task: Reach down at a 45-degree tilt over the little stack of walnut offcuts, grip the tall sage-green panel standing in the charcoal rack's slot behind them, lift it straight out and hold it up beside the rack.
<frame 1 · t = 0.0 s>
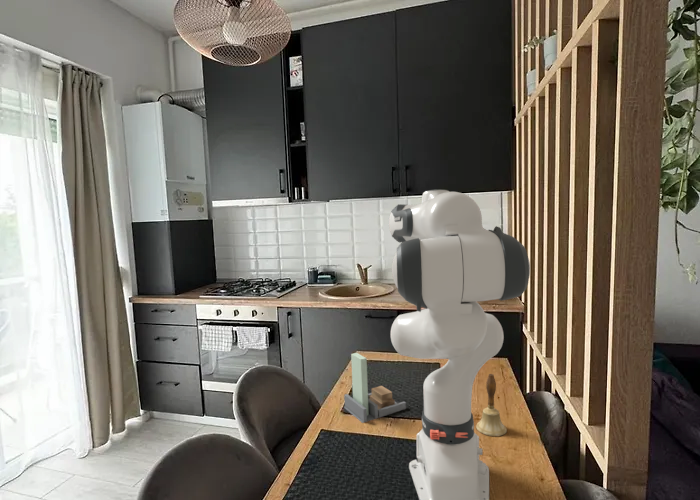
hand: (437, 293, 117), 39 cm above the table, tool pointing down, fingers open, 8 cm apart
bottom offcut: (382, 405, 130), point 1 cm above the table, touching charcoal rack, top offcut
top offcut: (381, 397, 130), point 3 cm above the table, touching bottom offcut
sage panel: (360, 412, 126), point 1 cm above the table, touching charcoal rack
hand bell: (491, 429, 115), on the table
charcoal rack: (371, 411, 128), on the table
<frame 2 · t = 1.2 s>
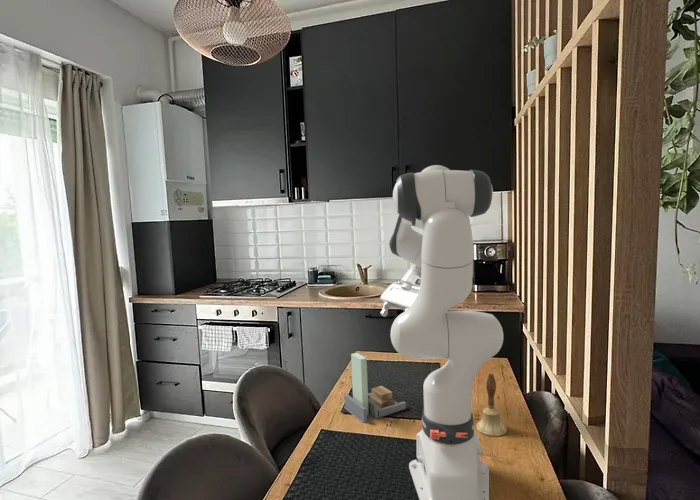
hand: (390, 318, 130), 29 cm above the table, tool tilted 45°, fingers open, 8 cm apart
nothing on the table moved.
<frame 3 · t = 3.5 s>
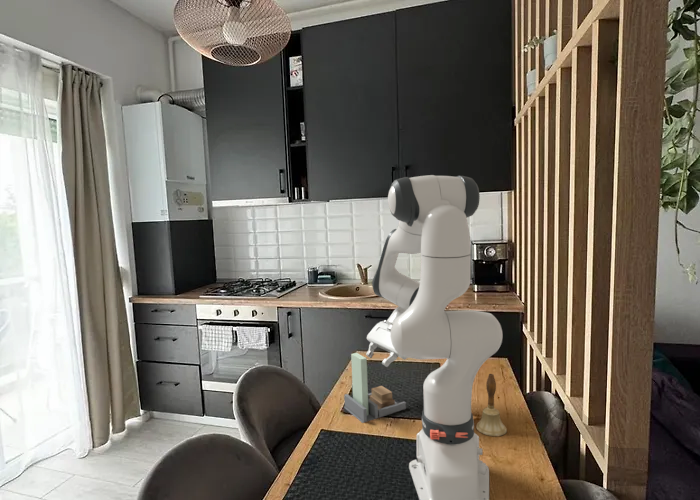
hand: (376, 360, 128), 16 cm above the table, tool tilted 45°, fingers open, 8 cm apart
nothing on the table moved.
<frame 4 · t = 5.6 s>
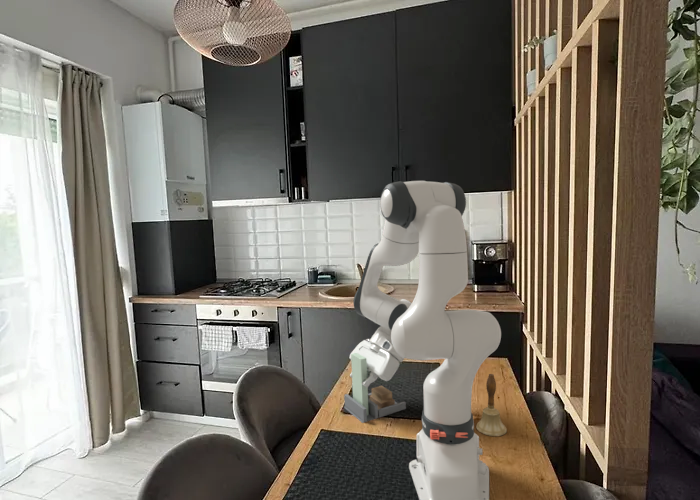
hand: (357, 381, 125), 11 cm above the table, tool tilted 45°, fingers closed on sage panel, 6 cm apart
sage panel: (360, 412, 126), point 1 cm above the table, touching charcoal rack, gripper
everything else where it was.
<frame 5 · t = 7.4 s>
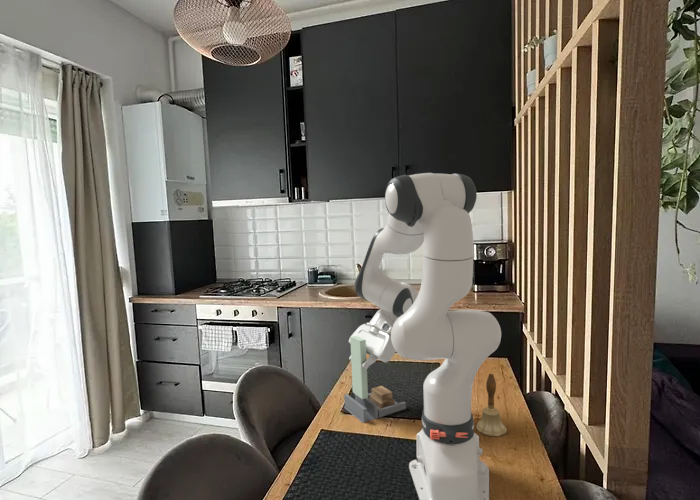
hand: (357, 364, 124), 17 cm above the table, tool tilted 45°, fingers closed on sage panel, 6 cm apart
sage panel: (360, 394, 125), point 7 cm above the table, touching gripper
everything else where it was.
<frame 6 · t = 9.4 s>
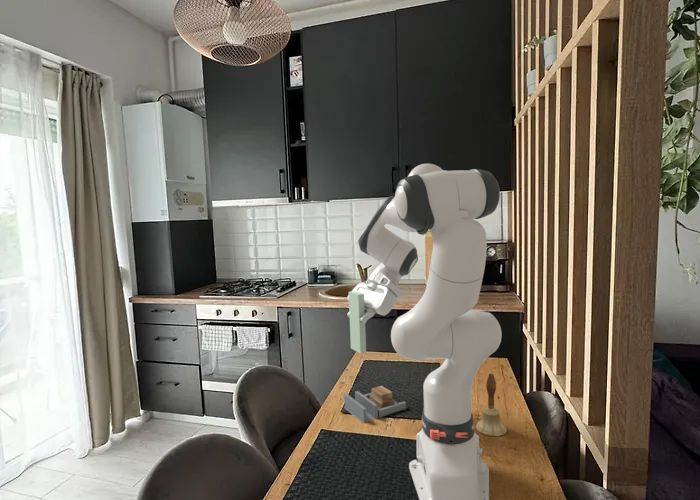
hand: (355, 319, 123), 31 cm above the table, tool tilted 45°, fingers closed on sage panel, 6 cm apart
sage panel: (358, 350, 125), point 21 cm above the table, touching gripper
everything else where it was.
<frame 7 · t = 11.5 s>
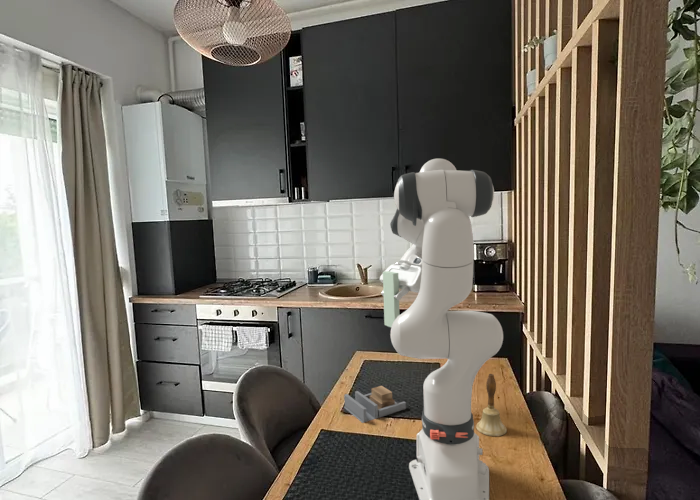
hand: (389, 297, 132), 35 cm above the table, tool tilted 45°, fingers closed on sage panel, 6 cm apart
sage panel: (392, 326, 133), point 25 cm above the table, touching gripper
everything else where it was.
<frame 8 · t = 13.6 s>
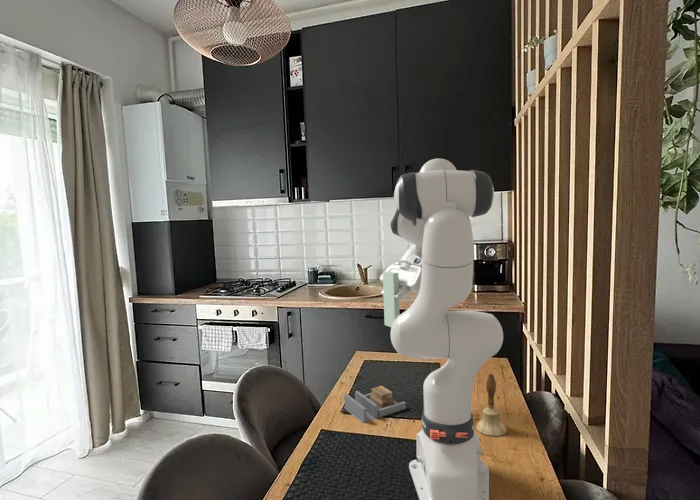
hand: (389, 297, 132), 35 cm above the table, tool tilted 45°, fingers closed on sage panel, 6 cm apart
sage panel: (392, 326, 133), point 25 cm above the table, touching gripper
everything else where it was.
at the end: sage panel point 25.5 cm above the table; the gripper is holding sage panel; top offcut moved 0.0 cm from its start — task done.
